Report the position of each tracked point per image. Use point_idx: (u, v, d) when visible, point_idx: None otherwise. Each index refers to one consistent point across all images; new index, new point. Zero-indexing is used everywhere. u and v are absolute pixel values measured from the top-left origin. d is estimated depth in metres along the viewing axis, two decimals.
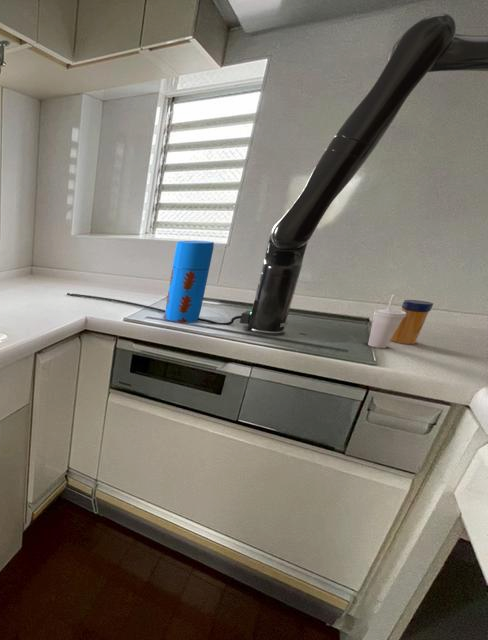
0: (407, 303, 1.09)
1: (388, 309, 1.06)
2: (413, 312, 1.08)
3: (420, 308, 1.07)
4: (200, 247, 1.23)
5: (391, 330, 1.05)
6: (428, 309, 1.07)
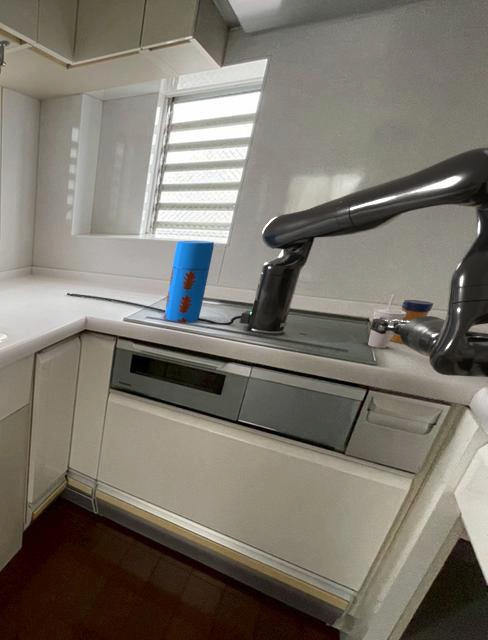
0: (407, 303, 1.09)
1: (388, 309, 1.06)
2: (413, 312, 1.08)
3: (420, 308, 1.07)
4: (200, 247, 1.23)
5: None
6: (428, 309, 1.07)
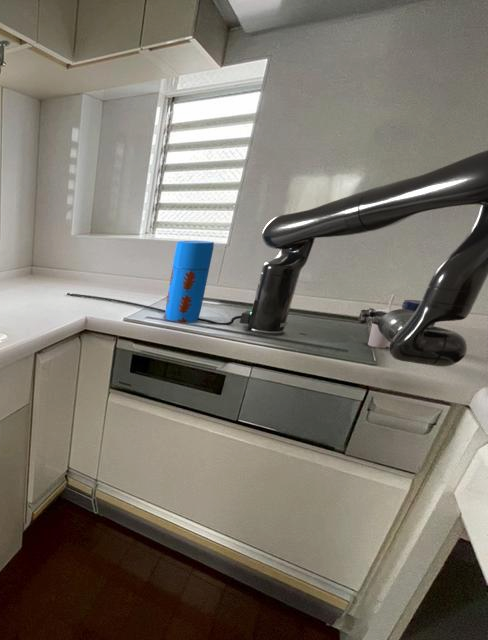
0: (407, 303, 1.09)
1: (388, 309, 1.06)
2: None
3: None
4: (200, 247, 1.23)
5: None
6: None
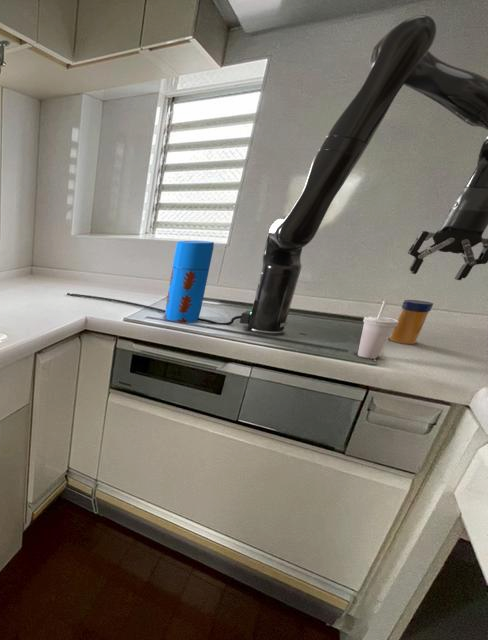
0: (407, 303, 1.09)
1: (379, 317, 0.98)
2: (413, 312, 1.08)
3: (420, 308, 1.07)
4: (200, 247, 1.23)
5: (382, 339, 0.98)
6: (428, 309, 1.07)
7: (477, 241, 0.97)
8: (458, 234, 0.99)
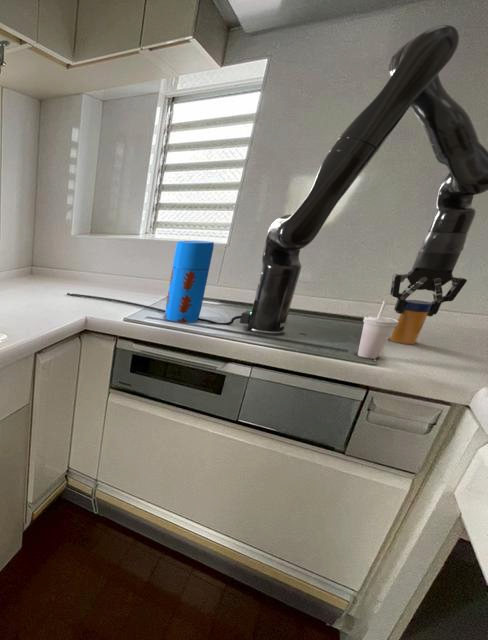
0: (407, 303, 1.09)
1: (379, 317, 0.98)
2: (413, 312, 1.08)
3: (420, 308, 1.07)
4: (200, 247, 1.23)
5: (382, 339, 0.98)
6: (428, 309, 1.07)
7: (448, 279, 1.04)
8: (430, 273, 1.05)
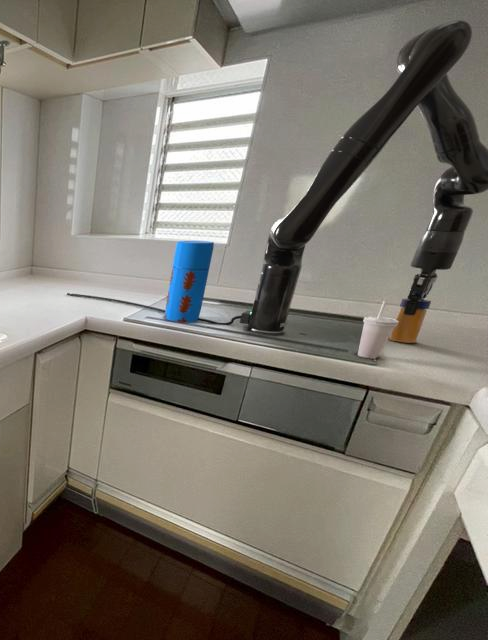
0: (421, 303, 1.07)
1: (379, 317, 0.98)
2: None
3: (429, 305, 1.08)
4: (200, 247, 1.23)
5: (382, 339, 0.98)
6: None
7: (433, 275, 1.08)
8: (433, 272, 1.06)
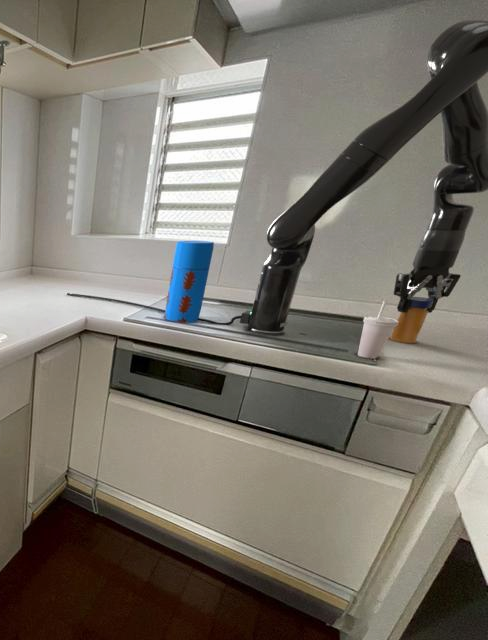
0: None
1: (379, 317, 0.98)
2: (415, 312, 1.09)
3: None
4: (200, 247, 1.23)
5: (382, 339, 0.98)
6: None
7: None
8: None
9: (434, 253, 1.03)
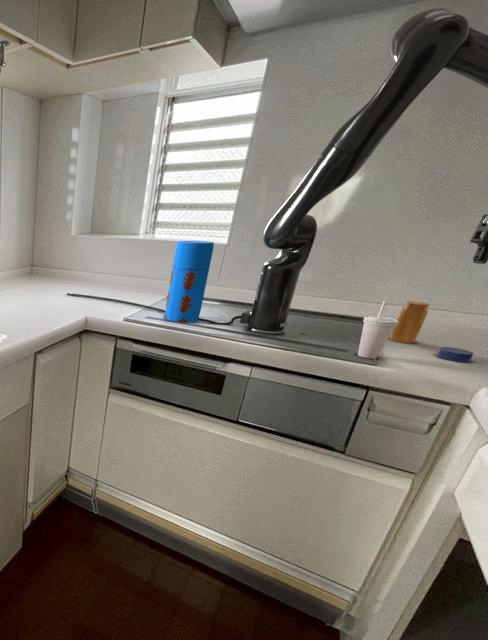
0: None
1: (379, 317, 0.98)
2: (415, 312, 1.09)
3: None
4: (200, 247, 1.23)
5: (382, 339, 0.98)
6: (438, 353, 1.02)
7: None
8: None
9: None
